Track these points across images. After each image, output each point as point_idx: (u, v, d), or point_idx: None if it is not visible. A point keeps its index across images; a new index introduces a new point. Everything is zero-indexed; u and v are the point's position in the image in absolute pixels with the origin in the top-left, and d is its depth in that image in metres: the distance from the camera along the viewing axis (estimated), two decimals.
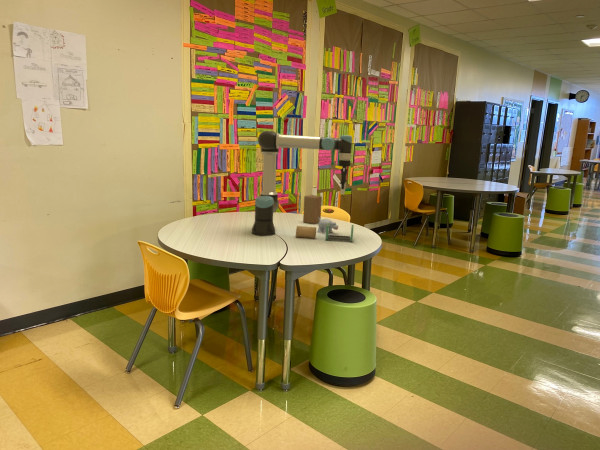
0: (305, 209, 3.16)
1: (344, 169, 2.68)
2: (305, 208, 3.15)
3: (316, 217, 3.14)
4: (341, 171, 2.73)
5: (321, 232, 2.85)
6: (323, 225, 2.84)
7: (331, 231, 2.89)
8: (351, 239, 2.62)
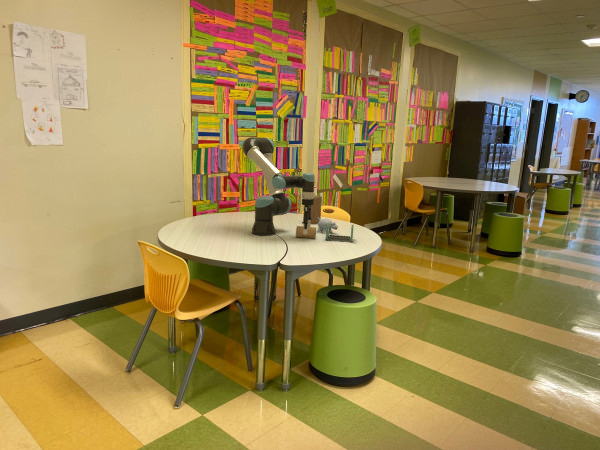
0: None
1: (306, 209, 2.60)
2: None
3: (316, 217, 3.14)
4: None
5: (321, 232, 2.85)
6: (323, 225, 2.84)
7: (331, 231, 2.89)
8: (351, 239, 2.62)
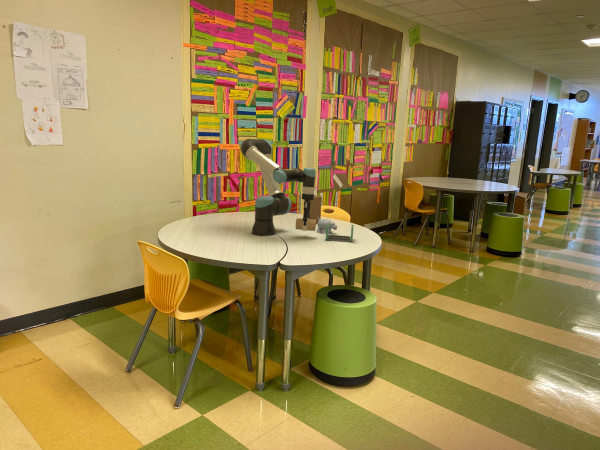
0: None
1: (306, 206, 2.60)
2: None
3: (316, 217, 3.14)
4: None
5: (320, 232, 2.85)
6: (322, 225, 2.84)
7: (330, 231, 2.89)
8: (351, 239, 2.62)
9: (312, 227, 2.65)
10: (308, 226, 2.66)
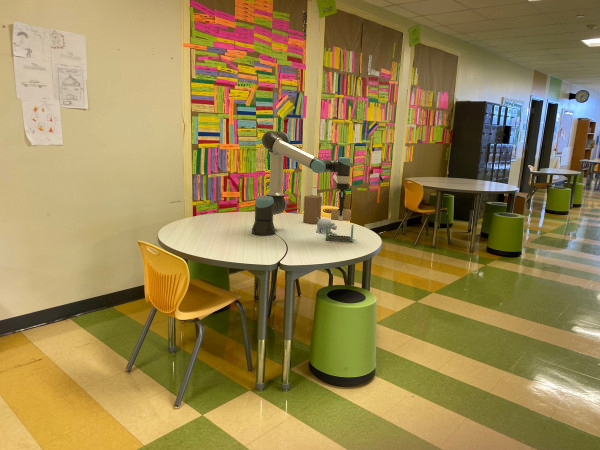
0: (305, 209, 3.16)
1: (342, 195, 2.56)
2: (305, 208, 3.15)
3: (316, 217, 3.14)
4: (339, 195, 2.61)
5: (320, 232, 2.85)
6: (321, 225, 2.83)
7: (330, 231, 2.88)
8: (351, 239, 2.62)
9: (348, 217, 2.61)
10: (344, 216, 2.61)
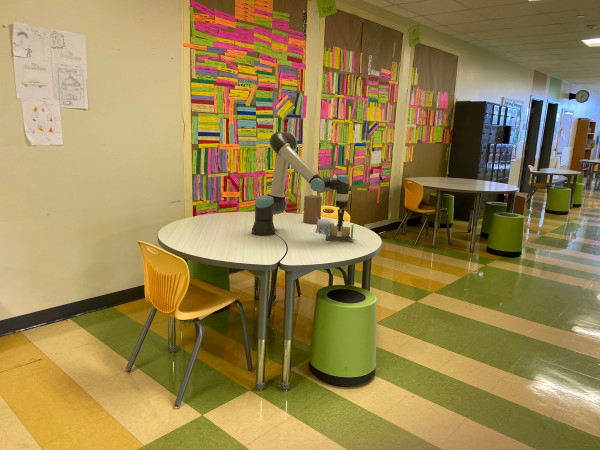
0: (305, 209, 3.16)
1: (341, 211, 2.58)
2: (305, 208, 3.15)
3: None
4: (338, 212, 2.62)
5: (319, 232, 2.85)
6: (321, 225, 2.83)
7: (329, 231, 2.88)
8: (351, 239, 2.62)
9: (347, 234, 2.63)
10: (343, 233, 2.64)
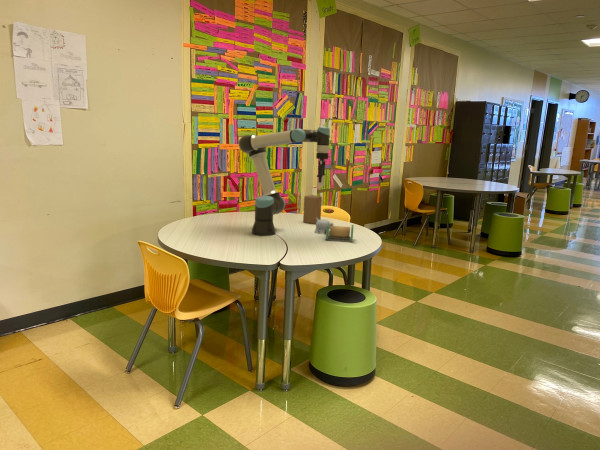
0: (305, 209, 3.16)
1: (321, 162, 2.60)
2: (305, 208, 3.15)
3: (316, 217, 3.14)
4: (319, 164, 2.65)
5: (318, 232, 2.84)
6: (320, 225, 2.83)
7: (329, 231, 2.88)
8: (351, 239, 2.62)
9: (347, 234, 2.63)
10: (343, 233, 2.64)
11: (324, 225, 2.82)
